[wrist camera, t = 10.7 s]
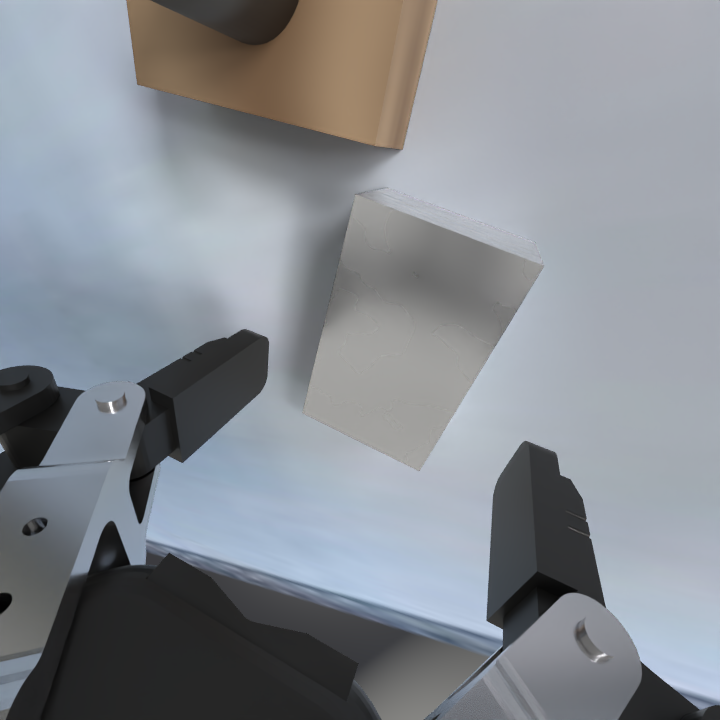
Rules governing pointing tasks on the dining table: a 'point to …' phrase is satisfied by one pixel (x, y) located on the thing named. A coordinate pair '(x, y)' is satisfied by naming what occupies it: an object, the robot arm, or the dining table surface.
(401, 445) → the lever cap
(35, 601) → the robot arm
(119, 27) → the dining table surface
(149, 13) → the body
